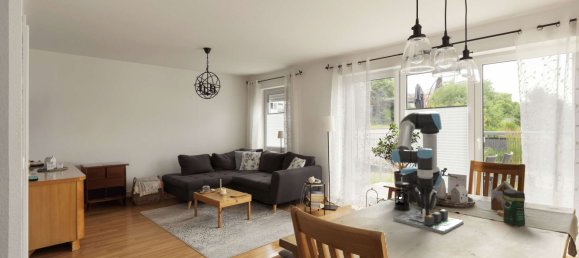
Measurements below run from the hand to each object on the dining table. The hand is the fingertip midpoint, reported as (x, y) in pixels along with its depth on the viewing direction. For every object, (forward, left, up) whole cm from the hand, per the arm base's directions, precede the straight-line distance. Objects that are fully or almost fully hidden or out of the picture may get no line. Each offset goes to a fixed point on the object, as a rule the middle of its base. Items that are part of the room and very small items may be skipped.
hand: (425, 220), depth 161 cm
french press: (-20, -25, -3) cm, 32 cm away
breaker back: (-16, +3, -2) cm, 16 cm away
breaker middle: (-8, +3, -2) cm, 9 cm away
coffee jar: (-40, +30, -3) cm, 50 cm away
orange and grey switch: (0, +2, -2) cm, 3 cm away
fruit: (-33, -15, -3) cm, 37 cm away
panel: (-8, -2, -3) cm, 9 cm away
